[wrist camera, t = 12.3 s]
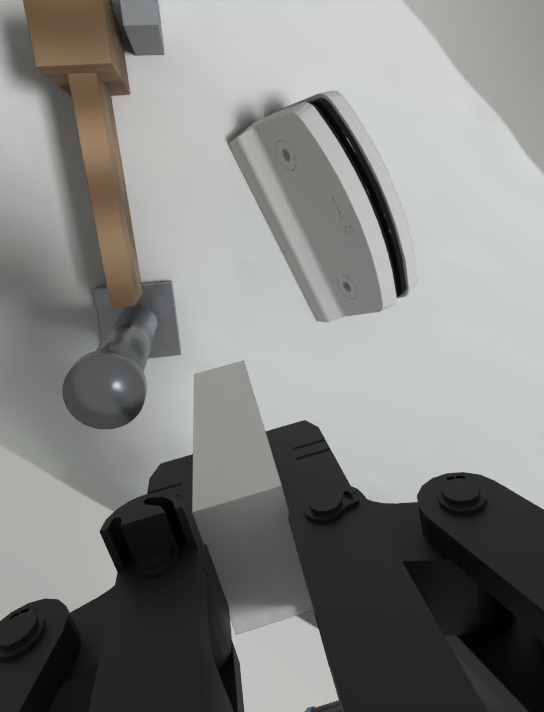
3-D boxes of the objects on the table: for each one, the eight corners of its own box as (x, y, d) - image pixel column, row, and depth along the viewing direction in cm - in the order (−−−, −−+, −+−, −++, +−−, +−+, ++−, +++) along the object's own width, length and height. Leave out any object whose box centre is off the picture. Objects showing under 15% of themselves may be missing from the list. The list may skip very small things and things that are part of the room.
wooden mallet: (159, 288, 38) (150, 309, 31) (108, 293, 38) (86, 316, 30) (120, 28, 33) (97, -24, 25) (60, 31, 32) (18, -22, 25)
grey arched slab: (225, 138, 36) (287, 88, 27) (273, 113, 38) (347, 58, 29) (319, 325, 42) (395, 334, 33) (357, 297, 43) (441, 298, 34)
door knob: (180, 351, 41) (171, 438, 25) (108, 358, 40) (54, 453, 25) (171, 281, 39) (156, 330, 24) (95, 287, 38) (29, 343, 23)
